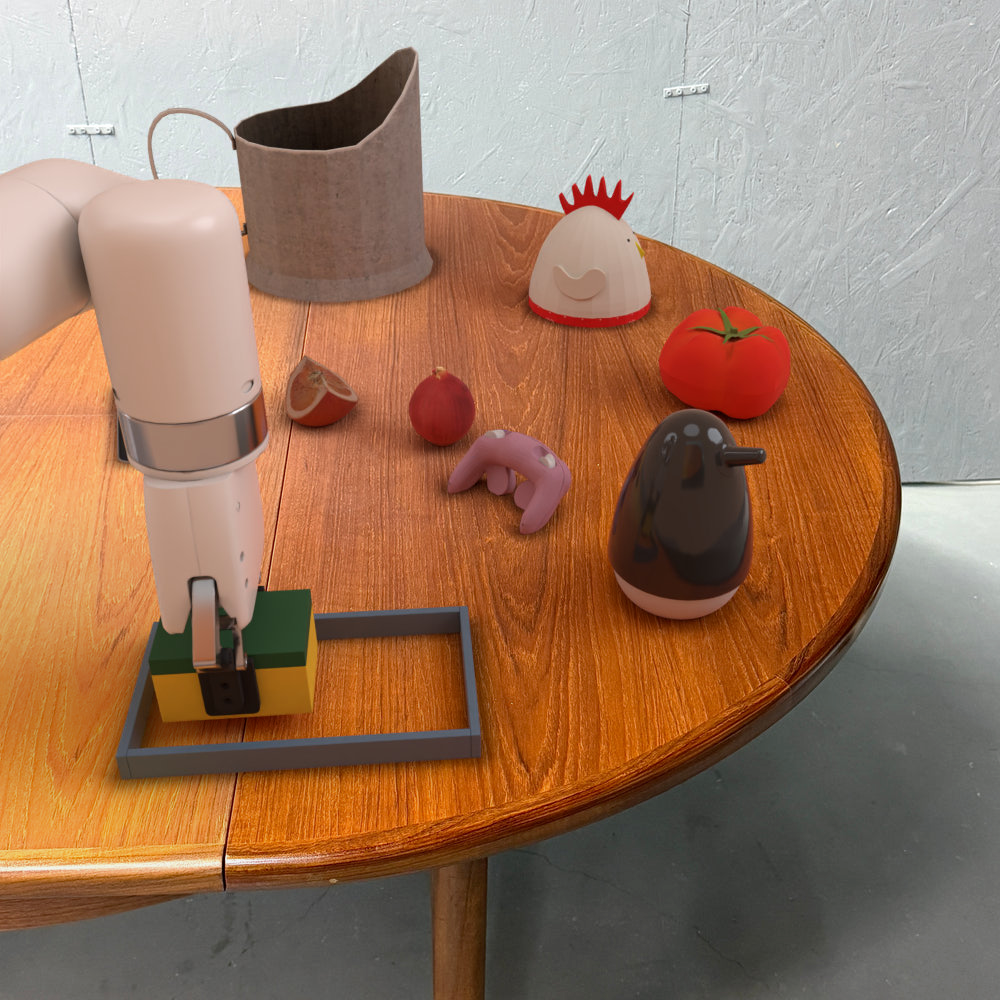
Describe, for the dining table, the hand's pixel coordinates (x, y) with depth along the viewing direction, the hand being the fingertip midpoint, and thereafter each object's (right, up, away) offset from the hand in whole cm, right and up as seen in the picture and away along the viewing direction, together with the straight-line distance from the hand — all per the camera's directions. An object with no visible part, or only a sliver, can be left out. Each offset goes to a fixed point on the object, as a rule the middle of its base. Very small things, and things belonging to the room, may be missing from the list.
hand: (240, 671), depth 67 cm
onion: (+11, +15, +30) cm, 35 cm away
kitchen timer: (+26, +33, +56) cm, 70 cm away
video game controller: (+17, +10, +22) cm, 29 cm away
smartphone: (-15, +18, +33) cm, 40 cm away
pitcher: (-8, +38, +64) cm, 75 cm away
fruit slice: (0, +18, +34) cm, 38 cm away
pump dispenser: (+29, +4, +12) cm, 32 cm away
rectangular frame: (+4, -2, +2) cm, 5 cm away
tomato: (+37, +20, +37) cm, 56 cm away
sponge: (0, -1, +1) cm, 1 cm away
